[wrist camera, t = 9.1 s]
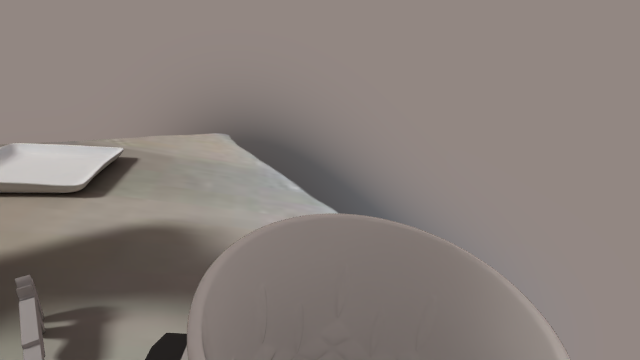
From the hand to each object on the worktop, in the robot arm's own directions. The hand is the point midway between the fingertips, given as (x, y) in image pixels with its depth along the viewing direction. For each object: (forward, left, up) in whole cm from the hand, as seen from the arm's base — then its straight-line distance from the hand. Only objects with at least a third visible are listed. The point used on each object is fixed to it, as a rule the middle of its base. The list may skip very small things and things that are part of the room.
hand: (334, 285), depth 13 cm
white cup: (0, -5, -6) cm, 8 cm away
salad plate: (-48, +47, -18) cm, 70 cm away
